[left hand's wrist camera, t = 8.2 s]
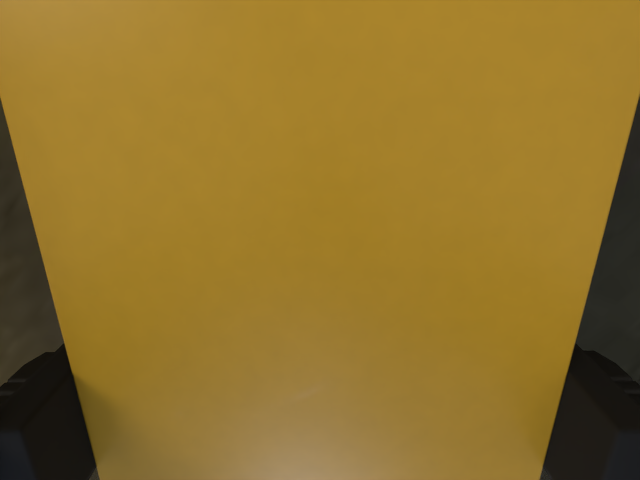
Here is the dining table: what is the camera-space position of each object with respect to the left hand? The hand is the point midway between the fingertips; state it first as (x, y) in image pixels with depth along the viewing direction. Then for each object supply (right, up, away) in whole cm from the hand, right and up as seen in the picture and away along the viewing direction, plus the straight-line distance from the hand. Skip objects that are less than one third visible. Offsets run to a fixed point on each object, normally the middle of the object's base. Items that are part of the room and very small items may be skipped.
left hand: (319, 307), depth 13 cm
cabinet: (0, +7, +3) cm, 8 cm away
